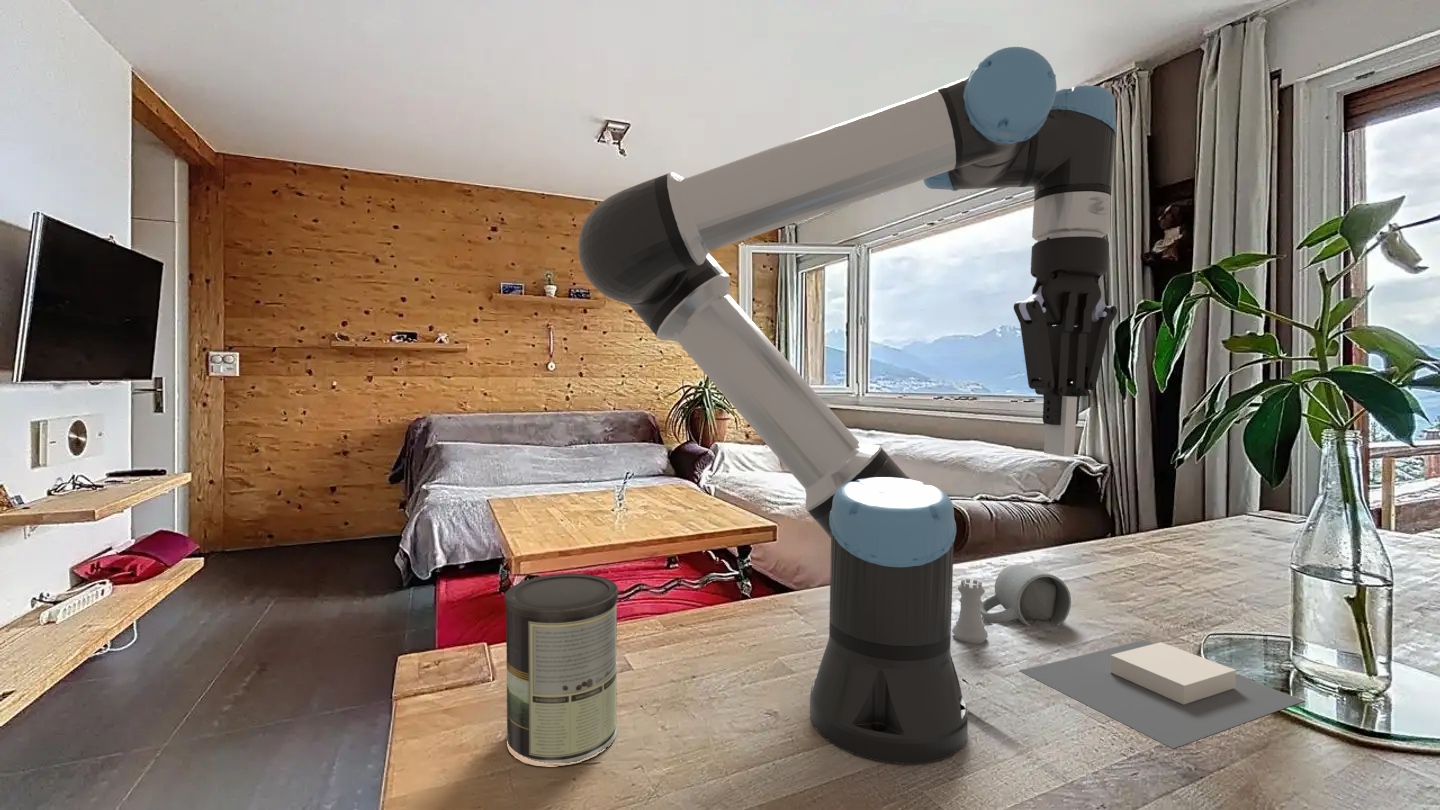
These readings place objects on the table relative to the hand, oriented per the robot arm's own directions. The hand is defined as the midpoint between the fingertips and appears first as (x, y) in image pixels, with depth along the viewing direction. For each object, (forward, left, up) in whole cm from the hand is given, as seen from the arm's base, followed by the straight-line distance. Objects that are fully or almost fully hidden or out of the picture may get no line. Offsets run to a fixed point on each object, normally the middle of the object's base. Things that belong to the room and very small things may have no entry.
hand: (1058, 454), depth 75 cm
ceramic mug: (+12, +14, -26) cm, 32 cm away
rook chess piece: (-1, +11, -26) cm, 28 cm away
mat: (+8, -7, -26) cm, 28 cm away
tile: (+6, -7, -24) cm, 26 cm away
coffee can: (-53, +10, -26) cm, 60 cm away
